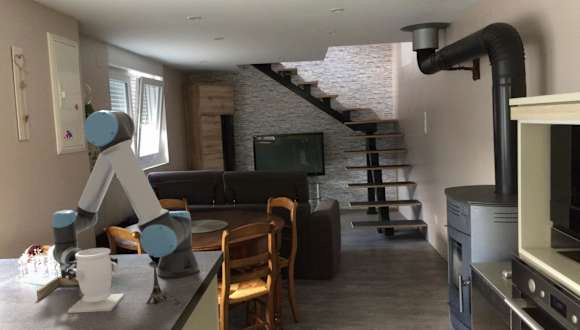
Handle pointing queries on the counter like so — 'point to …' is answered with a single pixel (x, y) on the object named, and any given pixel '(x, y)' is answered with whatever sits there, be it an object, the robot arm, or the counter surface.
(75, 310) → the ceramic tile
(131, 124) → the robot arm
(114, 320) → the counter surface
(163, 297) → the eiffel tower figurine
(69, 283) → the oak cradle
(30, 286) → the counter surface
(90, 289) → the jar
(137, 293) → the counter surface
